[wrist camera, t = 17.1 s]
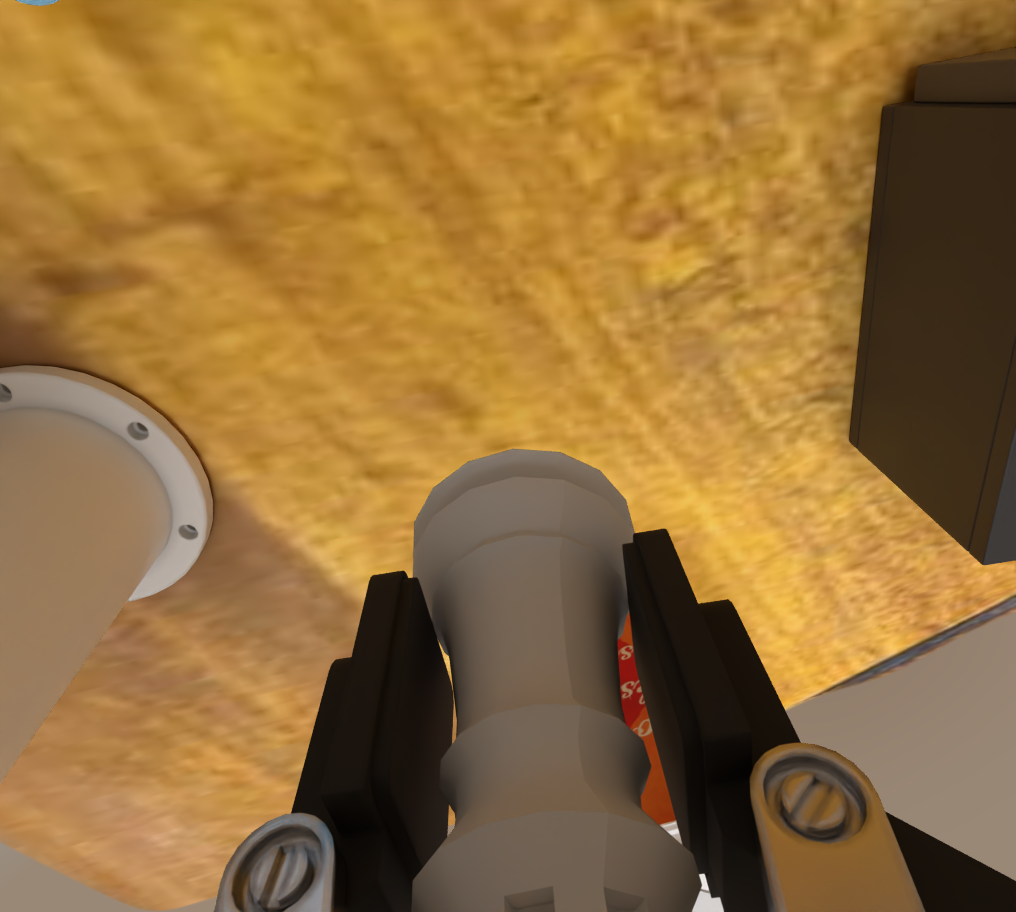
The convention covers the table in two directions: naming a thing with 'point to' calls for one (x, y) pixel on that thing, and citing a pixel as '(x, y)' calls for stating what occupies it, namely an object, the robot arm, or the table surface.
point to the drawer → (969, 79)
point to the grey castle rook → (539, 697)
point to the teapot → (38, 2)
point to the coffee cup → (652, 757)
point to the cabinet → (944, 320)
